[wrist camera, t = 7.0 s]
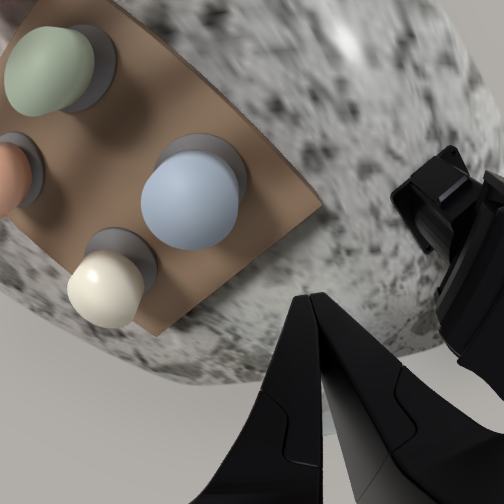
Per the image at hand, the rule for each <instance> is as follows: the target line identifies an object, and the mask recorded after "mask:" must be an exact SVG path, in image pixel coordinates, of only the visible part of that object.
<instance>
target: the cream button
mask: <svg viewBox="0 0 504 504" xmlns="http://www.w3.org/2000/svg"><path fill="white" fill-rule="evenodd" d="M67 292H68V296H69V299H70V302H71V304H72V305H73V307H74V308H75V310H76V311H77V312H78V313H79V314H80V315H81V316H82V317H83V318H85V319H86V320H88V321H89V322H91V323H93V324H95V325H97V326H100V327H104V328H110V329H115V328H121V327H124V326H126V325H128V324H129V323H130V322H131V321H132V320H133V319H134V316H135V314H136V311H137V308H138V306H139V303H140V300H141V298H142V295H143V292H144V281H143V277H142V275H141V273H140V271H139V270H138V268H137V267H136V266H135V265H134V263H133V262H131V261H130V260H129V259H128V258H126V257H125V256H123V255H121V254H119V253H117V252H114V251H110V250H97V251H93V252H91V253H89V254H88V255H87V256H86V257H85V258H84V259H83V260H82V262H81V263H80V265H79V266H78V268H77V269H76V271H75V272H74V273H73V275H72V276H71V278H70V280H69V282H68V286H67Z"/></svg>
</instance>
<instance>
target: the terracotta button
mask: <svg viewBox="0 0 504 504" xmlns="http://www.w3.org/2000/svg"><path fill="white" fill-rule="evenodd" d="M31 186H32V172H31V167H30V164H29V161H28V159H27V157H26V155H25V154H24V152H23V151H22V150H21V149H20V148H19V147H18V146H17V145H15V144H14V143H11V142H1V143H0V219H1V218H4V217H5V216H7V215H8V214H9V213H10V212H11V211H13V210H14V209H15V208H16V207H18V206H19V205H20V204H21V203H23V202H24V201H25V200H26V198H27V197H28V195H29V193H30V190H31Z"/></svg>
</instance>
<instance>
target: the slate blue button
mask: <svg viewBox="0 0 504 504" xmlns="http://www.w3.org/2000/svg"><path fill="white" fill-rule="evenodd" d="M238 199H239V186H238V181H237V178H236V176H235V174H234V172H233V170H232V169H231V167H230V166H229V165H228V164H227V162H226V161H224V160H223V159H222V158H221V157H219V156H218V155H216V154H214V153H212V152H209V151H206V150H201V149H187V150H182V151H179V152H176V153H174V154H172V155H171V156H169V157H168V158H166V159H165V160H164V161H163V162H162V163H161V164H160V166H159V167H158V168H157V169H156V170H155V171H154V173H153V174H152V175H151V176H150V178H149V179H148V180H147V182H146V184H145V186H144V188H143V191H142V196H141V210H142V215H143V218H144V220H145V222H146V224H147V226H148V228H149V229H150V230H151V232H152V233H153V234H154V235H155V236H156V237H157V238H158V239H160V240H161V241H162V242H164V243H166V244H167V245H169V246H172V247H174V248H177V249H182V250H190V251H193V250H202V249H206V248H209V247H212V246H214V245H216V244H218V243H219V242H221V241H222V240H223V239H224V238H225V237H226V236H227V235H228V234H229V233H230V231H231V230H232V228H233V226H234V224H235V222H236V219H237V215H238Z"/></svg>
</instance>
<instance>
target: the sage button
mask: <svg viewBox="0 0 504 504" xmlns="http://www.w3.org/2000/svg"><path fill="white" fill-rule="evenodd" d="M93 71H94V52H93V49H92V46H91V44H90V42H89V40H88V39H87V38H86V37H85V36H84V35H83V34H82V33H80V32H78V31H76V30H72V29H65V28H58V27H48V26H46V27H40V28H37V29H34V30H32V31H30V32H29V33H27V34H26V35H25V36H23V37H22V38H21V39H20V40H19V42H18V43H17V44H16V45H15V47H14V48H13V50H12V52H11V54H10V56H9V58H8V61H7V64H6V68H5V74H4V86H5V92H6V95H7V98H8V100H9V102H10V104H11V105H12V106H13V108H14V109H15V110H16V111H18V112H19V113H21V114H23V115H25V116H30V117H36V116H41V115H44V114H47V113H50V112H53V111H57V110H60V109H63V108H66V107H68V106H70V105H72V104H73V103H74V102H76V101H77V100H78V99H79V98H80V97H81V96H82V95H83V93H84V92H85V91H86V89H87V87H88V85H89V83H90V81H91V78H92V75H93Z"/></svg>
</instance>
